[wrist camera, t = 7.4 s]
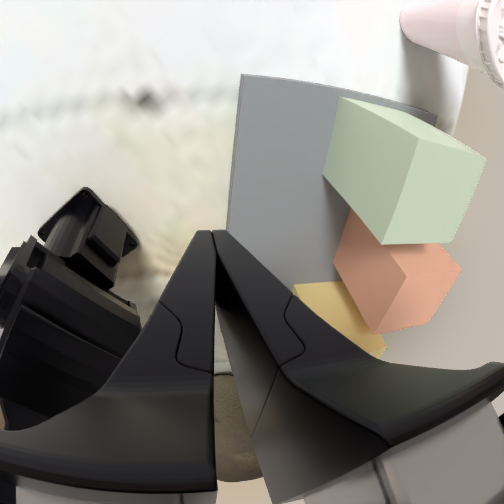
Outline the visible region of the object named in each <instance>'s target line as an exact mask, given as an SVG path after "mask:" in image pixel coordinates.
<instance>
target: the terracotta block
mask: <svg viewBox="0 0 504 504" xmlns="http://www.w3.org/2000/svg"><path fill="white" fill-rule="evenodd" d="M333 264H334V266H335V268H336V269H337V271H338V273H339V275H340V276H341V278H342V280H343V282H344V283H345V285H346V287H347V289H348V291H349V292H350V294H351V296H352V298H353V300H354V301H355V303H356V305H357V307H358V309H359V311H360V312H361V314H362V316H363V318H364V320H365V322H366V324H367V326H368V327H369V329H370V331H371V333H372V335H377V334H382V333H386V332H391V331H395V330H400V329H404V328H409V327H413V326H417V325H421V324H425V323H428V321H429V319H430V318H431V317H432V315H433V314H434V312H435V311H436V310H437V308H438V306H439V305H440V303H441V302H442V300H443V299H444V297H445V296H446V294H447V293H448V291H449V289H450V288H451V286H452V285H453V283H454V281H455V280H456V278H457V277H458V275H459V273H460V272H461V269H460V268H459V267H458V266H457V264H456V263H455V262H454V261H453V260H452V258H451V257H450V256H449V255H448V254H447V253H446V251H445V250H444V249H443V248H442V247H441V246H440V245H439V244H438V243H423V244H386V245H381V244H380V242H379V241H378V240H377V239H376V237H375V236H374V235H373V234H372V232H371V231H370V230H369V229H368V227H367V226H366V225H365V224H364V222H363V221H362V220H361V219H360V217H359V216H358V215H357V214H356V213H355V211H354V210H353V209H352V208H350V211H349V214H348V218H347V221H346V224H345V227H344V230H343V233H342V236H341V239H340V242H339V245H338V248H337V251H336V254H335V257H334V260H333Z"/></svg>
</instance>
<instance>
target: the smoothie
mask: <svg viewBox="0 0 504 504" xmlns="http://www.w3.org/2000/svg"><path fill="white" fill-rule="evenodd" d="M400 25H401V28H402V31H403V33H404V34H405V36H406V37H407V38H408V39H409V40H410V41H411V42H413V43H415V44H418V45H421V46H423V47H426V48H429V49H431V50H434V51H436V52H439V53H441V54H444V55H446V56H448V57H451V58H453V59H455V60H457V61H460V62H462V63H464V64H466V65H468V66H470V67H472V68H475V69H476V70H479V71H480V72H482V73H484V74H486V75H488V76H489V77H490V78H491V79H492V81H493V82H494V83H495V84H497V85H498V86H499V87H502V88H504V0H426V1H419V2H413V3H409V4H407V5H405V6H404V7H403V8H402V10H401V13H400Z"/></svg>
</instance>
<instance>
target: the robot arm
mask: <svg viewBox="0 0 504 504" xmlns="http://www.w3.org/2000/svg"><path fill="white" fill-rule="evenodd" d="M83 193H87V195H88V196H84V195H83ZM42 232H44V233H45V234H43V233H42ZM38 236H39V237H40V238H41V239H42V240H43V241H44V242H45V244H44V246H43V245H41V244H40V243H38V242H37V239H36V238H34V237H33V236H32V235H31V236H30V238H29V239H28V241H27V243H26V242H25V241H24V242H23V244H22V245H21V247H12V248H11V250H10V252H9V254H8V255H7V257H6V259H5V261H4V263H3V264H2V266H1V268H0V504H215V503H216V497H217V490H218V487H217V474H216V453H215V423H214V334H215V306H216V311H217V315H218V319H219V323H220V327H221V331H222V335H223V339H224V343H225V347H226V350H227V354H228V358H229V362H230V365H231V369H232V373H233V376H234V380H235V384H236V387H237V391H238V394H239V398H240V401H241V405H242V408H243V412H244V415H245V419H246V422H247V425H248V429H249V432H250V435H251V437H252V442H253V446H254V449H255V452H256V455H257V458H258V461H259V465H260V468H261V471H262V474H263V477H264V480H265V483H266V486H267V489H268V492H269V495H270V498H271V501H272V503H273V504H282V503H287V502H291V501H296V500H300V499H304V501H305V504H504V413H503V414H502V415H500V416H499V417H498V415H497V413H496V411H495V410H494V408H493V406H492V404H491V402H492V401H493V400H494V399H495V398H496V397H498V396H499V395H500V394H501V393H502V392H503V391H504V363H499V362H489V363H487V364H485V365H483V366H481V367H479V368H476V369H471V370H448V369H438V368H427V367H419V366H410V365H402V364H394V363H389V362H385V361H382V360H380V359H377V358H375V357H374V356H372V355H370V354H369V353H367V352H366V351H364V350H363V349H362V348H360V347H359V346H358V345H356V344H355V343H354V342H352V341H351V340H350V339H348V338H347V337H345V336H344V335H343V334H341V333H340V332H339V331H337V330H336V329H335V328H333V327H332V326H331V325H330V324H328V323H327V322H326V321H325V320H323V319H322V318H321V317H319V316H318V315H317V314H316V313H315V312H314V311H312V310H311V309H310V308H309V307H308V306H307V305H306V304H304V303H303V302H302V301H301V300H300V299H299V298H298V297H297V296H296V295H293V292H291V291H290V290H289V289H288V288H287V287H286V286H285V285H284V284H283V283H282V282H281V281H280V280H279V279H278V278H277V277H276V276H274V275H273V274H272V273H271V272H270V271H269V270H268V269H267V268H266V267H265V266H264V265H263V264H262V263H261V262H260V261H258V260H257V259H256V258H255V257H254V256H253V255H252V254H251V253H250V252H249V251H248V250H247V249H246V248H245V247H244V246H243V245H241V244H240V243H239V242H238V241H237V240H236V239H235V238H234V237H233V236H232V235H231V234H230V233H229V232H228V231H226V230H213V231H212V232H211V231H210V230H198V231H197V232H196V233H195V235H194V237H193V238H192V240H191V242H190V244H189V246H188V247H187V249H186V251H185V253H184V255H183V256H182V258H181V260H180V262H179V264H178V265H177V267H176V269H175V271H174V273H173V275H172V276H171V278H170V280H169V282H168V284H167V286H166V288H165V289H164V291H163V293H162V295H161V297H160V299H159V301H158V303H157V304H156V306H155V308H154V310H153V312H152V314H151V316H150V317H149V319H148V321H147V323H146V324H145V326H144V328H143V329H142V327H141V324H140V317H139V315H138V313H137V309H136V306H135V304H133V303H132V302H130V301H126V300H124V299H122V298H121V297H119V296H117V295H116V294H114V293H113V292H111V291H109V290H110V289H111V288H112V287H113V286H114V283H115V278H116V273H117V267H118V263H120V261H121V258H122V257H123V256H125V255H126V254H128V253H129V252H131V251H132V250H134V249H135V248H136V247H137V245H138V239H137V238H136V237H135V236H134V235H133V234H132V233H131V232H130V231H129V230H128V229H127V225H126V224H125V223H124V222H123V221H122V220H121V219H120V218H119V217H118V216H117V215H116V214H115V213H114V212H113V211H112V210H111V209H110V207H109V206H108V205H106V204H104V203H103V202H102V201H101V200H100V199H99V198H98V197H97V196H96V195H95V194H94V193H93V191H92V190H91V189H89V188H88V187H83V188H81V189H80V190H79V191H78V192H77V193H76V194H75V195H74V196H73V197H71V198H70V199H69V200H68V201H67V202H66V203H65V204H64V205H63V206H62V207H61V208H60V209H59V210H58V211H56V212H55V213H54V214H53V215H52V216H51V217H50V218H49V219H48V220H47V221H46V222H45V223H44V224H43V225H42V226H41V227H40V229H39V231H38ZM130 242H134V244H131V243H130Z"/></svg>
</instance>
